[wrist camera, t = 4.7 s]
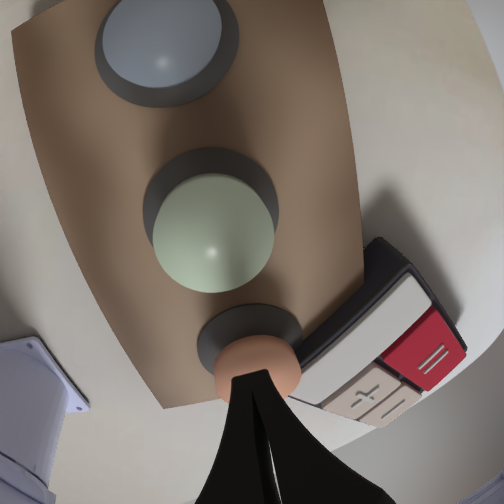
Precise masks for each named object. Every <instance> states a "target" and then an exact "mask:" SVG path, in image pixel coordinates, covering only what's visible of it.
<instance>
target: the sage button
mask: <svg viewBox="0 0 504 504" xmlns="http://www.w3.org/2000/svg"><path fill="white" fill-rule="evenodd" d="M273 244H274V227H273V222H272V218H271V216H270V214H269V211H268V209H267V208H266V206H265V205H264V203H263V202H262V200H261V199H260V197H259V196H258V194H257V193H256V192H255V191H254V190H253V189H252V188H251V187H250V186H249V185H248V184H246V183H245V182H243V181H242V180H240V179H238V178H235V177H233V176H230V175H226V174H220V173H207V174H201V175H197V176H194V177H191V178H189V179H187V180H185V181H183V182H182V183H180V184H179V185H177V186H176V187H175V188H174V189H173V190H172V191H171V192H170V193H169V194H168V195H167V197H166V198H165V200H164V201H163V203H162V205H161V208H160V210H159V213H158V215H157V218H156V221H155V224H154V229H153V246H154V251H155V254H156V257H157V259H158V261H159V263H160V265H161V266H162V268H163V269H164V271H165V272H166V273H167V274H168V275H169V276H170V277H171V278H172V279H173V280H175V281H176V282H178V283H179V284H181V285H183V286H185V287H187V288H190V289H192V290H196V291H200V292H207V293H216V292H224V291H229V290H232V289H235V288H238V287H240V286H242V285H244V284H245V283H247V282H249V281H250V280H251V279H253V278H254V277H255V276H256V275H257V274H258V273H259V272H260V271H261V270H262V269H263V267H264V266H265V264H266V263H267V261H268V259H269V257H270V255H271V252H272V248H273Z"/></svg>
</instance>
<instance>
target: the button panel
mask: <svg viewBox="0 0 504 504" xmlns="http://www.w3.org/2000/svg"><path fill="white" fill-rule="evenodd" d="M121 1H122V0H65V1H63V2H61V3H59V4H57V5H55V6H53V7H51V8H49V9H47V10H45V11H44V12H42V13H40V14H38V15H36V16H35V17H33V18H31V19H30V20H28V21H26V22H25V23H23V24H21V25H20V26H18V27H17V28H15V29H14V30H12V31H11V34H12V43H13V51H14V58H15V65H16V71H17V77H18V82H19V88H20V93H21V98H22V102H23V107H24V111H25V115H26V120H27V124H28V127H29V131H30V135H31V139H32V142H33V146H34V149H35V153H36V156H37V159H38V163H39V166H40V169H41V172H42V175H43V178H44V181H45V184H46V187H47V190H48V192H49V195H50V198H51V201H52V203H53V206H54V209H55V211H56V214H57V216H58V219H59V221H60V224H61V226H62V229H63V231H64V234H65V236H66V238H67V241H68V243H69V245H70V247H71V250H72V252H73V254H74V256H75V259H76V261H77V263H78V265H79V267H80V269H81V271H82V273H83V276H84V278H85V280H86V282H87V284H88V286H89V288H90V290H91V292H92V294H93V295H94V297H95V299H96V301H97V303H98V305H99V307H100V309H101V311H102V312H103V314H104V316H105V318H106V320H107V321H108V323H109V325H110V327H111V328H112V330H113V332H114V334H115V335H116V337H117V339H118V340H119V342H120V344H121V345H122V347H123V349H124V350H125V352H126V354H127V355H128V357H129V358H130V360H131V362H132V363H133V365H134V366H135V368H136V369H137V371H138V373H139V374H140V376H141V377H142V379H143V380H144V382H145V383H146V385H147V386H148V387H149V389H150V390H151V392H152V393H153V395H154V396H155V398H156V399H157V400H158V402H159V403H160V405H161V406H162V407H163V409H166V408H172V407H178V406H184V405H189V404H195V403H200V402H205V401H210V400H215V399H219V398H220V397H219V395H218V394H217V392H216V389H215V381H214V371H213V365H214V361H215V359H216V357H217V355H218V354H219V353H220V351H221V350H222V349H223V348H225V347H226V346H227V345H229V344H230V343H232V342H234V341H236V340H238V339H241V338H244V337H248V336H254V335H269V336H274V337H277V338H280V339H282V340H284V341H286V342H287V343H288V344H289V345H290V346H291V347H292V348H293V350H294V351H295V350H297V349H298V348H299V347H300V346H301V345H302V341H303V340H304V339H306V338H307V337H308V336H309V335H310V334H311V333H312V332H313V331H315V330H316V329H317V328H318V327H319V326H320V325H321V324H322V323H323V322H324V321H326V320H327V319H328V318H329V317H330V316H331V315H332V314H333V313H334V312H335V311H336V310H337V309H338V308H339V307H341V306H342V305H343V304H344V303H345V302H346V301H347V300H348V299H349V298H350V297H351V296H352V295H353V294H354V293H355V292H356V291H357V290H358V289H359V288H360V287H361V286H362V285H363V284H364V260H363V241H362V226H361V213H360V202H359V191H358V182H357V173H356V164H355V156H354V149H353V142H352V135H351V128H350V122H349V116H348V110H347V104H346V99H345V93H344V88H343V83H342V78H341V73H340V68H339V64H338V59H337V55H336V50H335V46H334V42H333V38H332V34H331V30H330V26H329V22H328V18H327V14H326V11H325V7H324V4H323V0H212V1H213V2H214V3H215V5H216V7H217V9H218V11H219V14H220V17H221V23H222V31H221V37H220V41H219V44H218V48H217V51H216V53H215V55H214V57H213V59H212V60H211V62H210V63H209V64H208V66H207V67H206V68H205V69H204V70H203V71H202V72H201V73H200V74H198V75H197V76H196V77H194V78H193V79H191V80H189V81H187V82H185V83H183V84H180V85H177V86H174V87H169V88H147V87H143V86H140V85H137V84H135V83H132V82H130V81H128V80H126V79H124V78H122V77H121V76H120V75H118V74H117V73H116V72H115V71H114V70H113V69H112V68H111V66H110V65H109V63H108V61H107V59H106V57H105V54H104V51H103V32H104V28H105V25H106V22H107V20H108V18H109V16H110V15H111V13H112V11H113V10H114V9H115V8H116V6H117V5H118V4H119V3H120V2H121ZM207 173H220V174H226V175H230V176H233V177H235V178H238V179H240V180H242V181H243V182H245V183H246V184H248V185H249V186H250V187H251V188H252V189H253V190H254V191H255V192H256V193H257V194H258V196H259V197H260V199H261V200H262V202H263V203H264V205H265V206H266V208H267V209H268V211H269V214H270V216H271V218H272V222H273V227H274V244H273V248H272V252H271V255H270V257H269V259H268V261H267V263H266V264H265V266H264V267H263V269H262V270H261V271H260V272H259V273H258V274H257V275H256V276H255V277H254V278H253V279H251V280H250V281H249V282H247V283H245V284H244V285H242V286H240V287H238V288H235V289H232V290H229V291H224V292H216V293H207V292H200V291H196V290H192V289H190V288H187V287H185V286H183V285H181V284H179V283H178V282H176V281H175V280H173V279H172V278H171V277H170V276H169V275H168V274H167V273H166V272H165V271H164V269H163V268H162V266H161V265H160V263H159V261H158V259H157V257H156V254H155V251H154V246H153V229H154V224H155V221H156V218H157V215H158V213H159V210H160V208H161V205H162V203H163V201H164V200H165V198H166V197H167V195H168V194H169V193H170V192H171V191H172V190H173V189H174V188H175V187H176V186H177V185H179V184H180V183H182V182H183V181H185V180H187V179H189V178H191V177H194V176H197V175H201V174H207Z"/></svg>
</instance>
